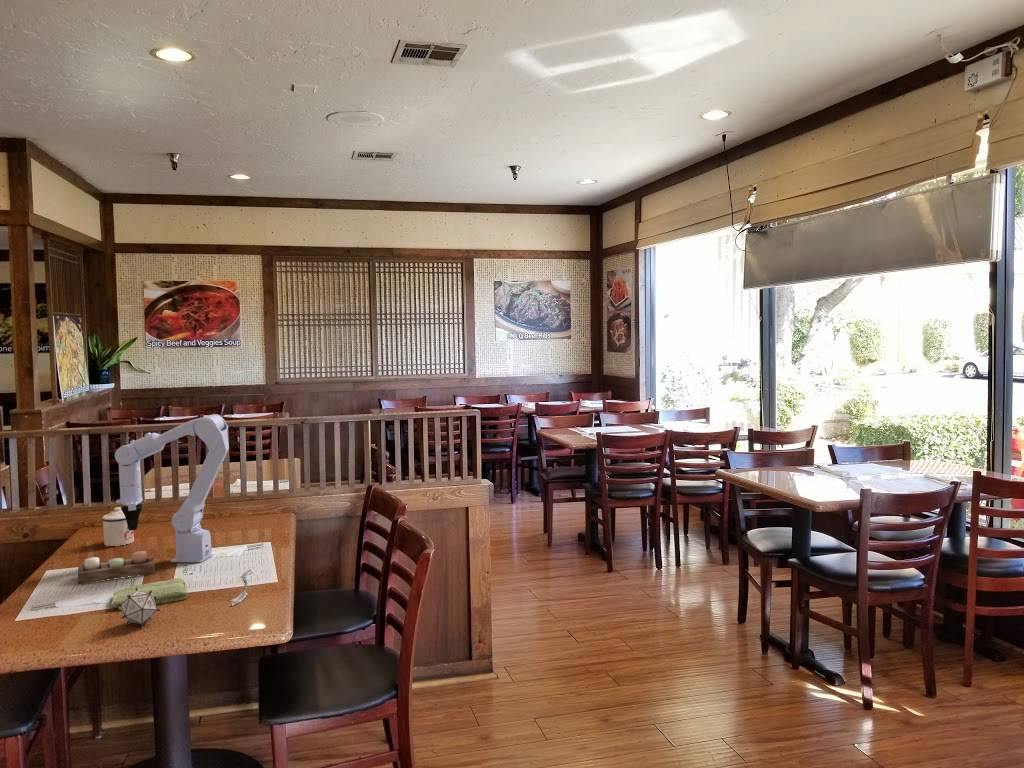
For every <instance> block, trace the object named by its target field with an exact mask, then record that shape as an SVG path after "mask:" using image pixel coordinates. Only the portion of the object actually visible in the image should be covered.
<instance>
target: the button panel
mask: <svg viewBox="0 0 1024 768" xmlns="http://www.w3.org/2000/svg"><path fill="white" fill-rule="evenodd" d="M123 563H124V566H118V567H110V568H109V561H106V562H99V565H100V567H99V568H97V569H93V570H86V569H85V564H83V565H78V567H77V584H79V585H85V584H84V583H86V584H92V583H91V582H93V583H97V582H96V581H100V582H103V581H102V580H107V579H114V578H121V577H128V576H135V577H138V576H137V575H142V576H148V575H147V574H149V575H153V574H156V573H155V561H154V556H153V555H151V556H150V555H149V556H147V561H146V562H143V563H133V558H126V559H123ZM145 574H146V575H145ZM128 578H129V577H128ZM121 579H122V578H121ZM114 580H115V579H114ZM107 581H108V580H107Z"/></svg>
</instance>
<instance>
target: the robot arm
mask: <svg viewBox="0 0 1024 768" xmlns="http://www.w3.org/2000/svg"><path fill="white" fill-rule="evenodd" d="M228 429H229V426H228V424H227V422H226V420H225V418H223V416H221V415H220V414H217V413H212V414H209V415H208V416H204V417H200V418H199V417H198V418H196V419H192V420H189V421H186V422H184V423H181V424H179V425H177V426H175V427H174V428H171V429H169V430H167V431H165V432H163V433H161V434H159V433H158V432H157V433H156V432H152V433H151V432H147V433H144V436H143V437H140V438H138V439H136V440H135V439H132V440H130V441H129V443H128V444H126V445H121V446H120V447H118V448H117V449H116V450H115V452H114V458H115V459H114V460H115V461H116V462H117V464H118V476H119V492H120V493H119V494H120V495H119V496H120V498H119V499H116V501H115V503H116V504H121V507H120V508H121V510H122V512H123V513H124V515H125V518H126V521H127V525H128V529H129V531H130V530H133V531H137V530H138V525H139V518H140V515H141V512H142V510H143V504H142V502H143V500H144V499H143V494H142V492H143V491H142V474H141V460H142V459H146V458H148V457H150V456H152V455H155V454H156V453H159V452H162V451H163V450H164V448H165V446H166V444H168V443H171V442H173V441H174V440H175V441H176V440H178V439H179V438H183V437H185V436H188V435H189V436H192V437H195V436H197V437H198V438H199V439H200V440H201V441H202V442H203V443H204V444H205V445H206V448H207V449H208V452H207V455H206V457H205V458H204V461H203V464H202V465H201V468H200V470H199V472H198V473H197V476H196V477H195V478H196V479H195V480H194V482H193V484H192V485H191V489H190V492H189V493H188V495H187V497H186V498H185V500H184V502H183V503H182V504H181V506H180V508H179V509H178V511H177V512H175V513H174V514H173V516H172V517H171V525H172V528H173V529H174V531H175V536H174V537H175V557H174V558H172V559H171V560H170V563H202V562H204V561H205V560H208V559H209V558H210V557H211V556H213V553H212V539H211V538H212V536H211V533H210V530H208V529H203V528H202V525H201V521H202V520H203V518H204V508H205V506H206V504H205V503H206V502H205V501H206V499H207V497H208V496H209V494H210V491H211V489H212V487H213V484H214V482H215V480H216V477H217V475H218V474H219V471H220V470H221V467H222V465H223V463H224V461H225V459H226V456H227V455H228V453H229V450H230V447H229V446H230V445H229V436H228Z"/></svg>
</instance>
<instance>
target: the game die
mask: <svg viewBox="0 0 1024 768" xmlns="http://www.w3.org/2000/svg"><path fill="white" fill-rule="evenodd" d="M135 590H136V591H135V592H134V593H133V594H132V595H131V596H130V595H127V597H129V598H127V599H126V600H125V601H124V602H123V603H122V604H120V603H119V604H117V605H119V606H121V607H122V610H123V611H122V613H123V615H122V616H121V619H122V620H123V619H126V620H127V622H126V625H129V624H130V623H133V624H137V625H140V627H141V626H143V627H144V623H146V622H147V621H148V620H149V619H150V620H152V616H153V615H154V614H155V613H157V612H160V611H162V610H161V608H158V607H157V605H156V603H155V600H154V599H156V597H154V598H153V597H152V595H151V594H150V593H152V590H151V591H150V592H149V593H147V592H141V591H137V590H138V588H136V589H135ZM128 623H129V624H128Z"/></svg>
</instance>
